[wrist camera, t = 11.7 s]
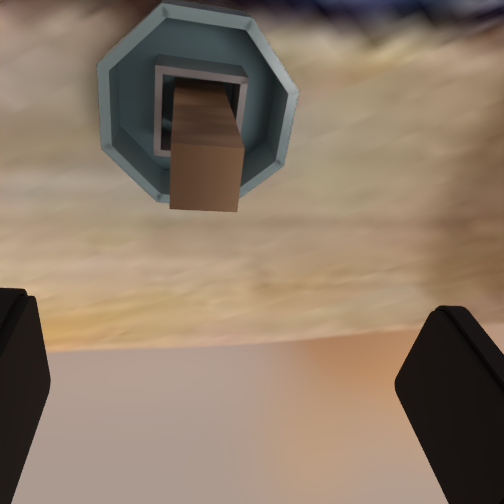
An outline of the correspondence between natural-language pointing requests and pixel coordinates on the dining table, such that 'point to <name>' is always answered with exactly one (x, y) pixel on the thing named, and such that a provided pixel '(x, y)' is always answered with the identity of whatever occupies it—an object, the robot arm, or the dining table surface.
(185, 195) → the wood grain block
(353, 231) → the dining table surface
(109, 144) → the octagonal socket dish
